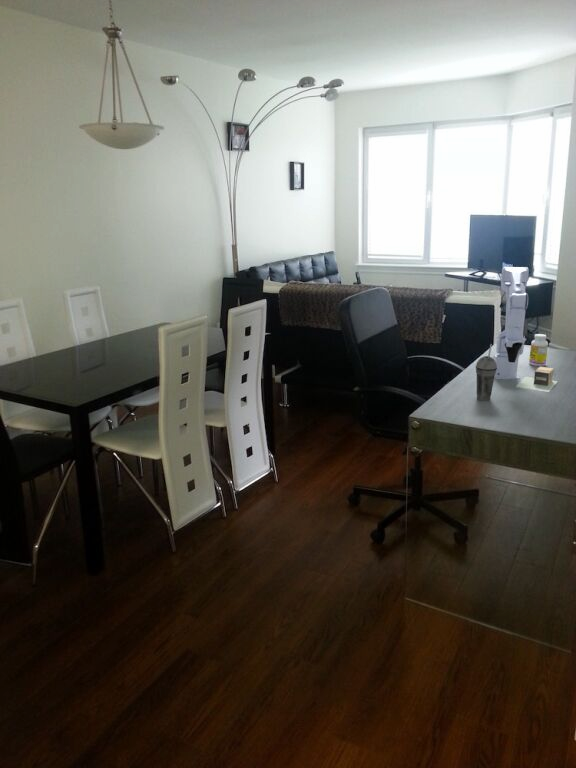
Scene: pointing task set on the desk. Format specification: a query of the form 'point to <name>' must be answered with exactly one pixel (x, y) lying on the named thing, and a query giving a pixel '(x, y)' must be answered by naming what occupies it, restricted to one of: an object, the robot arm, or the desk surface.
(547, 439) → the desk surface
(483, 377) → the beverage cup
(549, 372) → the tan block
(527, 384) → the mat
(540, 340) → the supplement bottle
